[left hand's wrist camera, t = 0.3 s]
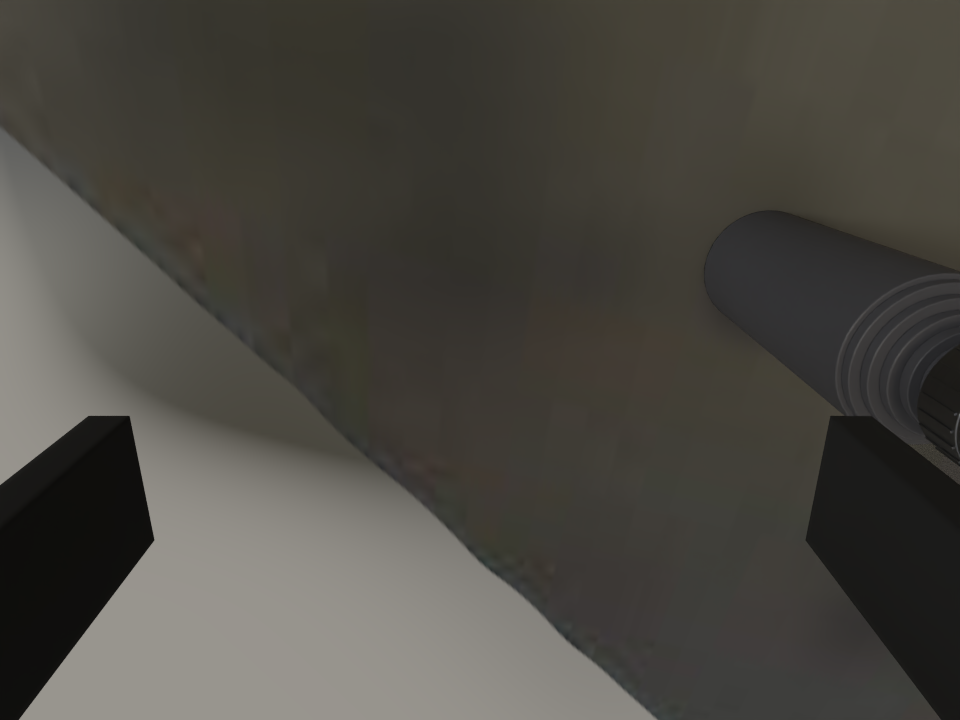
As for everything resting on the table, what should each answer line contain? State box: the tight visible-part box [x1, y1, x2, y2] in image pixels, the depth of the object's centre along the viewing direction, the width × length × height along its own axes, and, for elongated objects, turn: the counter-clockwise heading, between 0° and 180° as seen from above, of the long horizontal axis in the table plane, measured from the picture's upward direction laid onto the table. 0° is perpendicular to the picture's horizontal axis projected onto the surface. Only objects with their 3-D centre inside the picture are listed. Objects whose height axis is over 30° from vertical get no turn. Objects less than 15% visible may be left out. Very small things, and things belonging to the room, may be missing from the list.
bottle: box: [704, 211, 960, 444], centre depth 30 cm, size 7×7×21 cm
